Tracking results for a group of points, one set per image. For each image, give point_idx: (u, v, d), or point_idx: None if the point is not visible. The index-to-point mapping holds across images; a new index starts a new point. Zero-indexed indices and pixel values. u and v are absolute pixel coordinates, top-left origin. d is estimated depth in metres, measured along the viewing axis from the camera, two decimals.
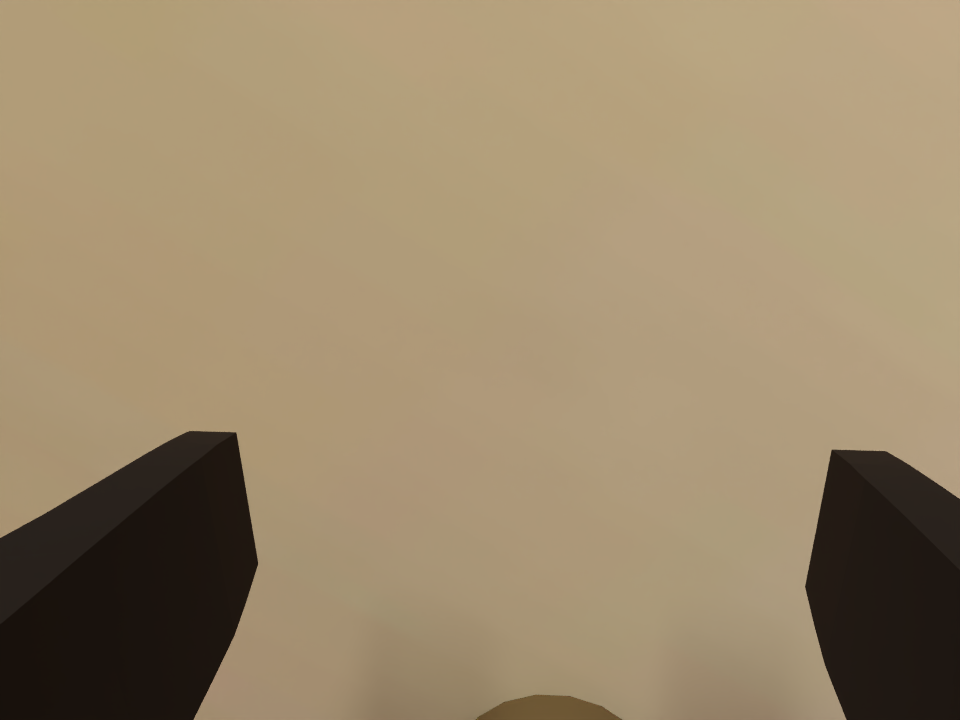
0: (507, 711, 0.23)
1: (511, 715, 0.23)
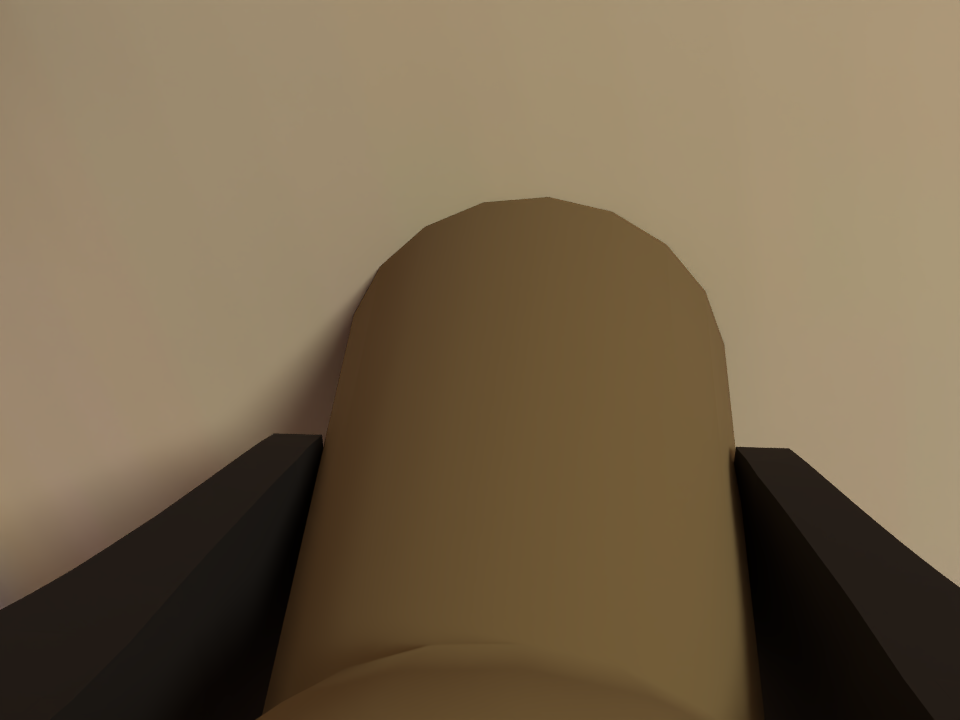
0: (617, 225, 0.12)
1: (624, 233, 0.12)
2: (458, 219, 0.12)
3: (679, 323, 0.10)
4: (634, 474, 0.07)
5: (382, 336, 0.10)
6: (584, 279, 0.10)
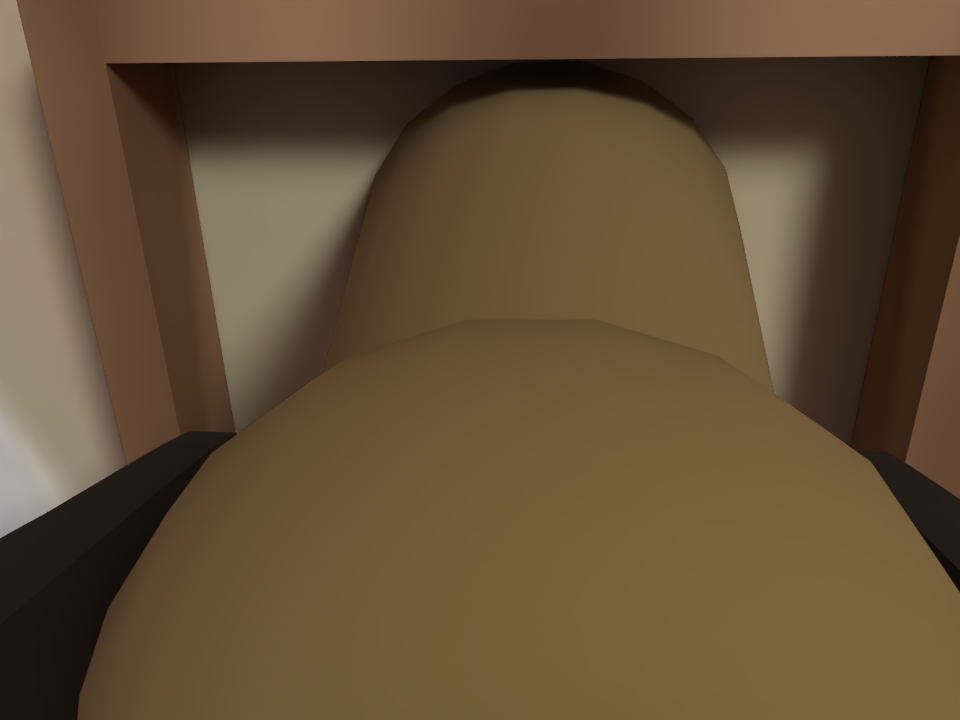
0: (646, 91, 0.12)
1: (654, 97, 0.12)
2: (489, 76, 0.12)
3: (707, 173, 0.11)
4: (674, 252, 0.07)
5: (415, 163, 0.10)
6: (618, 119, 0.10)
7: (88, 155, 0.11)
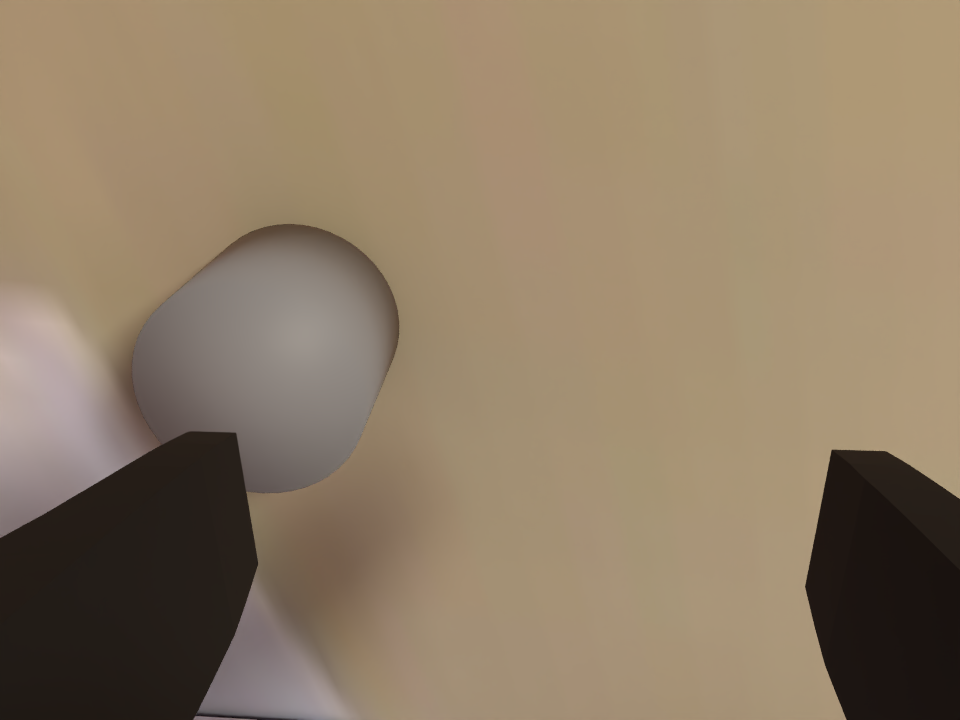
0: None
1: None
2: None
3: None
4: None
5: None
6: None
7: None
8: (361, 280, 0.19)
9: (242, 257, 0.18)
